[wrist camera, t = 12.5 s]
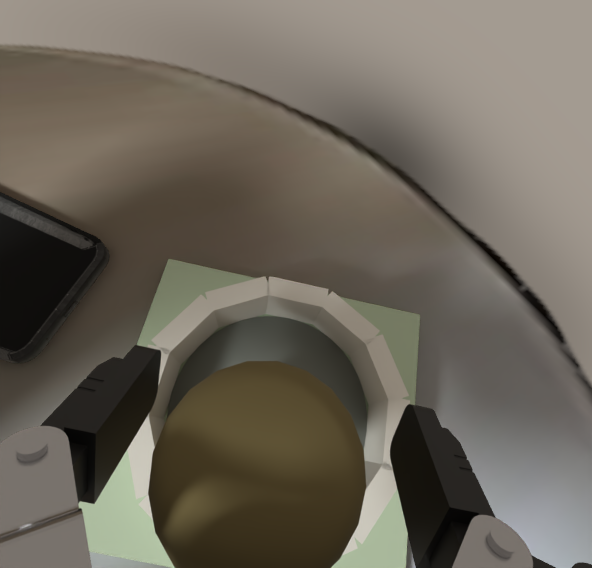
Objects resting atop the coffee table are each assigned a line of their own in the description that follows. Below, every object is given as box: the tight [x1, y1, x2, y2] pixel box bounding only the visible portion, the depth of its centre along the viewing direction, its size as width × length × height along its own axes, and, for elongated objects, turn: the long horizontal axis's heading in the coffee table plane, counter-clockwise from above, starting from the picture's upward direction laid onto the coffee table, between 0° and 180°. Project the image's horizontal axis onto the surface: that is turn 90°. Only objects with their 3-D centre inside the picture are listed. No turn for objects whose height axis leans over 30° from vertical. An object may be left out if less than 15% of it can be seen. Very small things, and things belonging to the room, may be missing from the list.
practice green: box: [78, 259, 420, 568], centre depth 18 cm, size 15×14×4 cm
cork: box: [148, 361, 366, 568], centre depth 13 cm, size 6×6×11 cm
